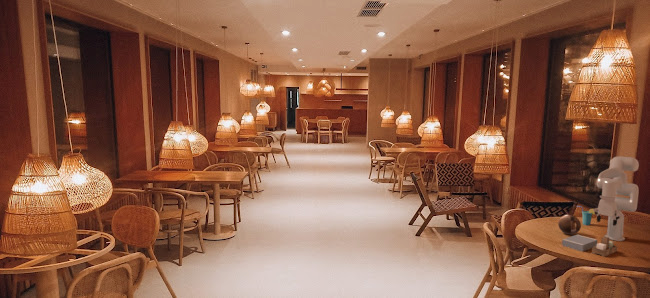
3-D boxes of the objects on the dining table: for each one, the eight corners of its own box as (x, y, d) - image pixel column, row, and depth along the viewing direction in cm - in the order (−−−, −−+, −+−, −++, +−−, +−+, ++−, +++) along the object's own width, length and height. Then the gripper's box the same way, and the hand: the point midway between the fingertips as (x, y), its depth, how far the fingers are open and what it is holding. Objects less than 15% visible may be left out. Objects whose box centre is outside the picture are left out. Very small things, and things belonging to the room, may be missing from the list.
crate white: (599, 248, 286) (599, 242, 285) (605, 250, 282) (606, 244, 282) (596, 249, 283) (596, 244, 283) (602, 251, 280) (603, 245, 280)
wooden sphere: (557, 230, 335) (558, 211, 333) (579, 232, 328) (580, 213, 326) (558, 235, 322) (559, 216, 320) (580, 238, 315) (582, 218, 313)
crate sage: (606, 245, 291) (606, 240, 290) (612, 247, 288) (613, 241, 287) (603, 246, 289) (604, 241, 288) (610, 248, 285) (610, 242, 285)
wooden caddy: (604, 248, 294) (605, 233, 292) (616, 252, 287) (618, 236, 286) (591, 253, 285) (592, 237, 283) (604, 257, 278) (605, 241, 277)
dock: (576, 240, 310) (576, 234, 310) (597, 245, 298) (597, 239, 298) (561, 245, 299) (562, 239, 299) (582, 251, 288) (582, 245, 287)
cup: (575, 224, 351) (576, 206, 349) (575, 221, 357) (577, 204, 355) (594, 226, 343) (596, 208, 341) (595, 224, 349) (596, 206, 347)
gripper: (591, 196, 287) (589, 221, 288) (620, 201, 272) (618, 227, 274) (597, 195, 291) (595, 219, 292) (625, 200, 276) (623, 225, 278)
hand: (606, 223), depth 283 cm, fingers open, 9 cm apart
